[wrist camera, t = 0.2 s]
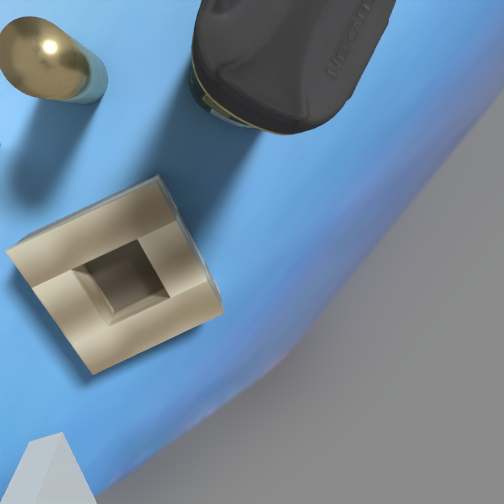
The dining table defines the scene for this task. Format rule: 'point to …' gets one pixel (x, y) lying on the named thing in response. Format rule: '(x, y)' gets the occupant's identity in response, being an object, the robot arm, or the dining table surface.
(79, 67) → the round bit
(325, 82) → the coffee jar
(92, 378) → the dining table surface
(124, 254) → the socket block
